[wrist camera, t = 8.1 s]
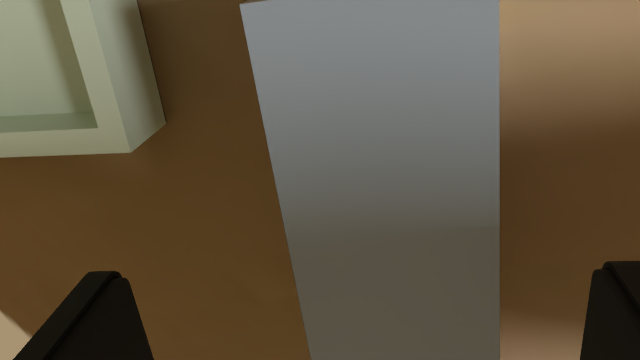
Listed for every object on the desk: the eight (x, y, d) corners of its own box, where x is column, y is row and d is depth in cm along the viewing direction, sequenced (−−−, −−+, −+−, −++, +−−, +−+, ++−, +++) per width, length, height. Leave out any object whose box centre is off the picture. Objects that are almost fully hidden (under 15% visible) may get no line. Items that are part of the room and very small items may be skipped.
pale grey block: (465, -49, 14) (499, -32, 9) (475, 328, 19) (500, 480, 14) (300, -25, 15) (239, 4, 10) (353, 328, 20) (333, 471, 15)
